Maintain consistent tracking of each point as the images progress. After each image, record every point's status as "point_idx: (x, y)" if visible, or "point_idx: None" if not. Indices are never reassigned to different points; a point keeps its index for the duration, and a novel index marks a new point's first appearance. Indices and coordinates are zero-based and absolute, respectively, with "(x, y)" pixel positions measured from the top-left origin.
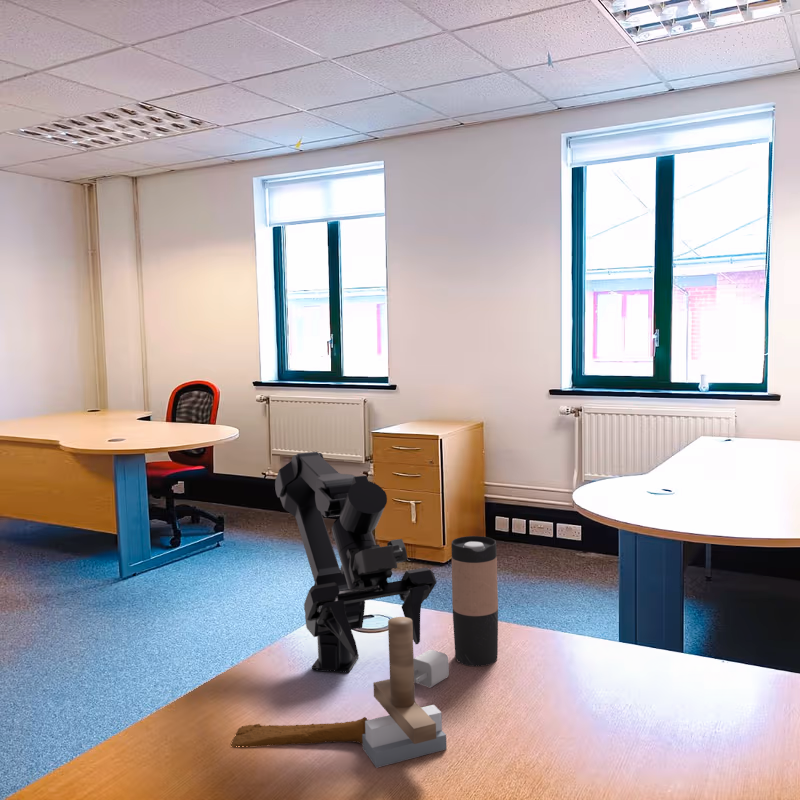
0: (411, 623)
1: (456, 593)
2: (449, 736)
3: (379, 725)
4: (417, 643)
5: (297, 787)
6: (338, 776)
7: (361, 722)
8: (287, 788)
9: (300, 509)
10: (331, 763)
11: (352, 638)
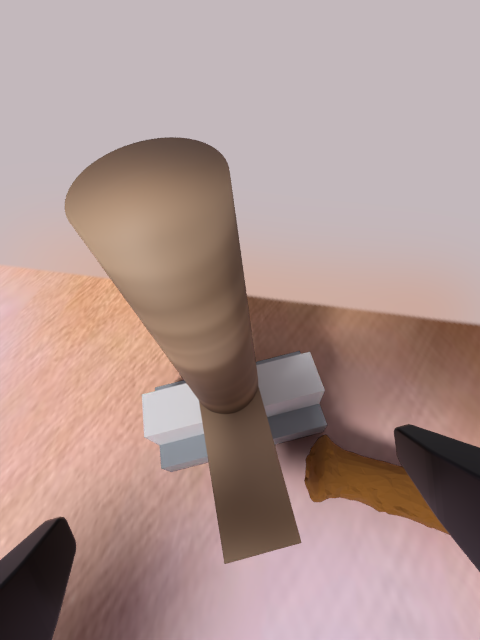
0: (95, 165)
1: None
2: (141, 443)
3: (291, 363)
4: (67, 531)
5: (432, 332)
6: (364, 350)
7: (331, 456)
8: (450, 332)
9: None
10: (383, 392)
11: (467, 463)
